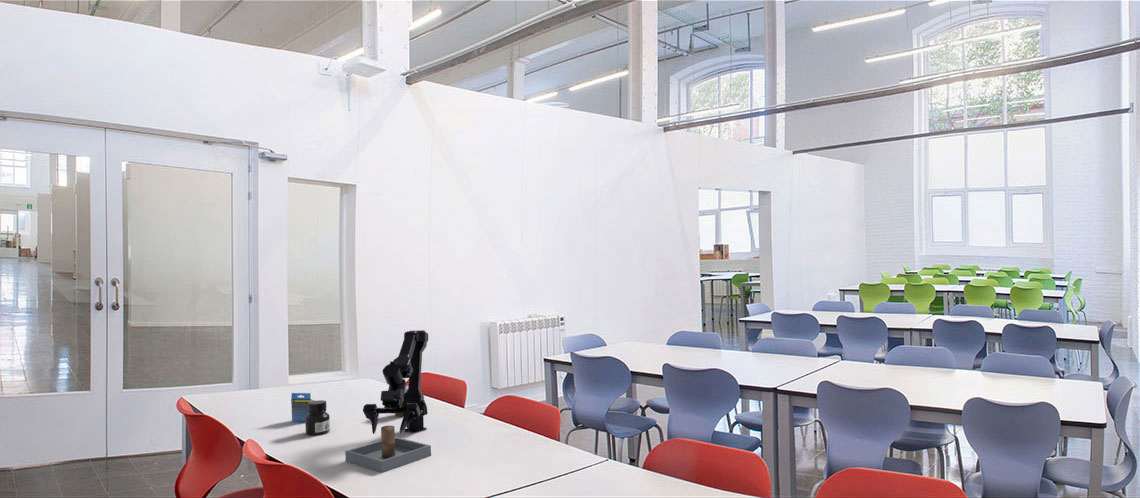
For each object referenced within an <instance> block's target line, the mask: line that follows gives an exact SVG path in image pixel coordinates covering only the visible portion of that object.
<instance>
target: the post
mask: <svg viewBox="0 0 1140 498" xmlns="http://www.w3.org/2000/svg"><path fill="white" fill-rule="evenodd" d="M380 432H381V433H380V434H381V438H380V439H381V440H380V441H381V444H382V458H384V459H388V458H391V457H394V456H395V437H396V432H395V425H384V426H381V427H380Z"/></svg>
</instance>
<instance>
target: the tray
mask: <svg viewBox="0 0 1140 498" xmlns="http://www.w3.org/2000/svg"><path fill="white" fill-rule="evenodd" d="M344 453H345V454H344V455H345V457H344V458H345V461H344V462H346V461H347V463H349V462H350V464H352V463H353V465H356V464H357V465H356V466H359V465H360V467H363V468H366V469H369V470H370V469H371V470H373V471H376V472H380V473H386V472H389V471H390V470H394V469H397V468H399V467H402V466H405V465H409V464H410V463H414V462H417V461H419V460H422V459H426V458H428V457H431V456H432V445H431V444H428V443H427V444H426V443H423V442H419V441H413V440H410V439H406V438H402V437H397V436H395V456H394V457H391V458H388V459H384V458H382V444H381V440H378V441H375V442H370V443H367V444H365V445H361V446H357V447H355V448H351V449H348V450H345V451H344Z"/></svg>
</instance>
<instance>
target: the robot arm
mask: <svg viewBox="0 0 1140 498" xmlns="http://www.w3.org/2000/svg"><path fill="white" fill-rule="evenodd" d="M428 341H429V333H428V332H426V330H425V329H424V330H418V329H417V330H409V331H408V330H407V331H405V332H404V334H403V341H402V343H401V344H402V345H401V347H400V350H399V354H398V356H397V357H396V358H394V359H393V361H389V364H386V365H385V366H384V367H383V368H382V375H383V377H384V379H385V382H386V385H388V389H387V390H382V391H381V393H380V401H381V402H382V403H381V404H382V406H383V407H378V406H377V404H376V403H366V404H365V405H363V407H362V412H363V415H364V416H365V418H366V419H368V420H369V421H370V422H371V431H372V434H373V435H374V434H376V431H377V427H378V423H379V418H378V417H379V416H380V414H393V415H394V414H395V413H403V417H402V420H401V423H400V427H399V434H402V433H403V432H404V431H405V432H407V433H408V432H409V433H412V434H416V433H418V432H422V431H425V430H428V428H427V427H425V426H424V424H425V423H424V416H427V415H428V406H427V403H426V401H425V396H424V393H423V392H422V390H421V382H422V381H421V379H422V365H423V364H422V361H423V352H424V351H425V349H426V348H427V346H428ZM405 379H408V385H409V387H408V390H407V392H406V393H404V392H405V389H406V385H407V381H406V380H405ZM401 406H402V407H401Z"/></svg>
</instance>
